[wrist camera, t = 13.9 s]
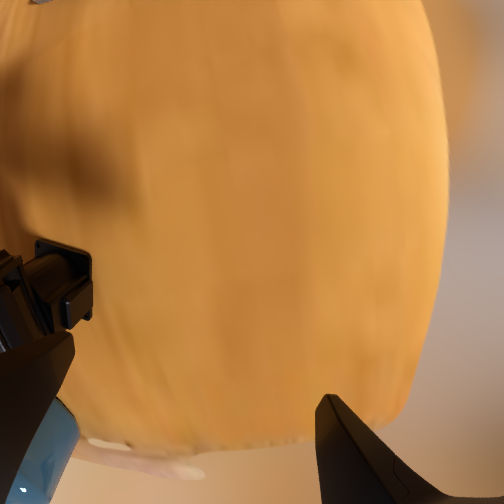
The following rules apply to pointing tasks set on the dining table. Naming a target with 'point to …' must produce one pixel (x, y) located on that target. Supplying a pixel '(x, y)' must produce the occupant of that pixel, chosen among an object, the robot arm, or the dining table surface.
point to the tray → (41, 1)
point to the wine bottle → (45, 457)
